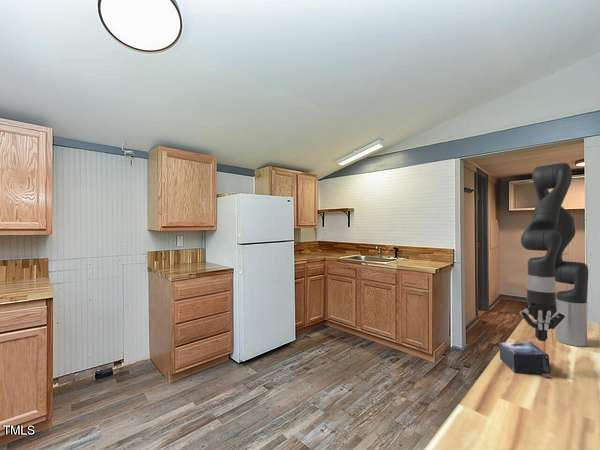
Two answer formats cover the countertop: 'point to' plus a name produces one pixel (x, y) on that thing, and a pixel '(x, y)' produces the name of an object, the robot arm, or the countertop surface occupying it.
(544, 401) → the countertop surface
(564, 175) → the robot arm
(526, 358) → the small box
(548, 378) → the stop strip
